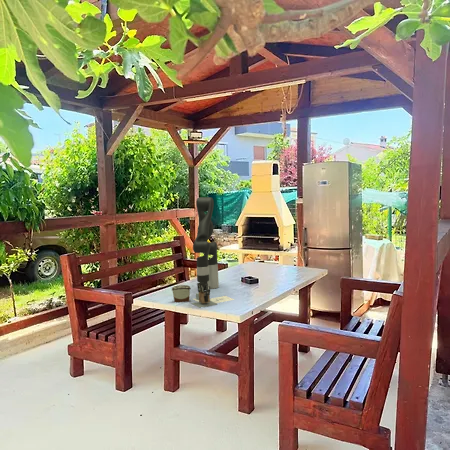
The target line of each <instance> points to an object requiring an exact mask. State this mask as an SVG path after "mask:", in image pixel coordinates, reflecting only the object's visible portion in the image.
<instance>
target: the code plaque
mask: <svg viewBox="0 0 450 450" xmlns="http://www.w3.org/2000/svg"><path fill="white" fill-rule="evenodd" d="M234 300H235V299H234V298H231V297H229V296H227V295H224V296H217V297H212V298H210V301H212V302H214V303H217V304H219V303H225V302H230V301H234Z"/></svg>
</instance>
